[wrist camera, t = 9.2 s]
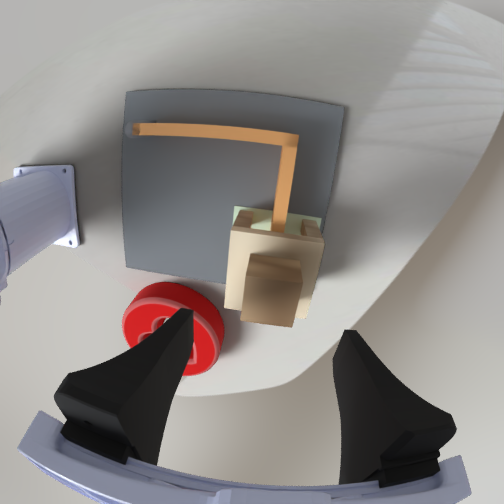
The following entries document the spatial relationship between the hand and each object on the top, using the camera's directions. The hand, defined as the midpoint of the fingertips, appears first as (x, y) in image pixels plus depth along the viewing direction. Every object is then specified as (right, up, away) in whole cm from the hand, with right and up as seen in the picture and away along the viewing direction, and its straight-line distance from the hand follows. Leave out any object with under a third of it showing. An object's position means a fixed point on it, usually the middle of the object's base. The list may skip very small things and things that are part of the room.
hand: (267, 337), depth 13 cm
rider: (+1, +4, +9) cm, 10 cm away
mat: (-3, +9, +8) cm, 12 cm away
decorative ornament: (-8, -3, +14) cm, 16 cm away
